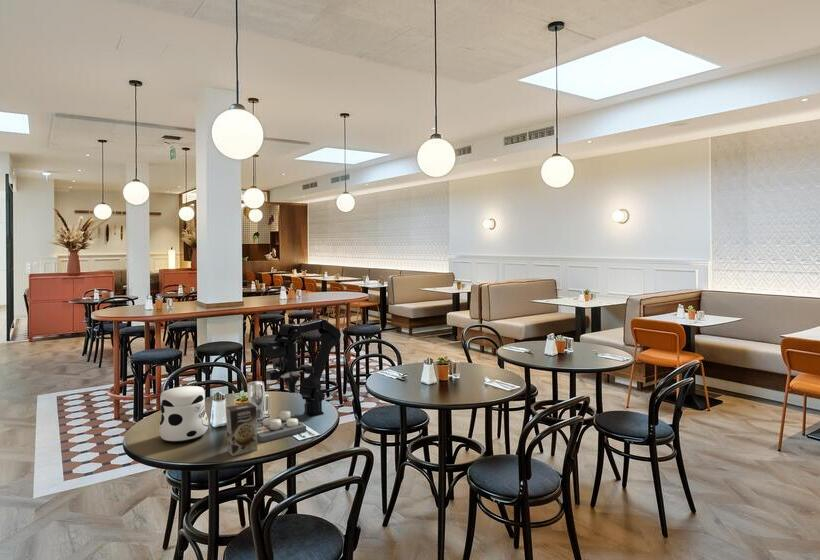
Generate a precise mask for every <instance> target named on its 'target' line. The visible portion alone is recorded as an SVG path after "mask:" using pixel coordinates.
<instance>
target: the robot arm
mask: <svg viewBox="0 0 820 560" xmlns="http://www.w3.org/2000/svg"><path fill="white" fill-rule="evenodd" d="M312 331H317V333H318V334H320V336H319V341H320V346H319V350H318V352H317V354H316V357H315V359H314V362H313V365H311V364H309V363H306V364H300V365H299V366H298V361H299V357H297V354H298V353H297V344H300V343H301V340H300V339H299V337H301V335H303V334H305V333H308V332H309V333H310V332H312ZM341 335H342V334H341V331H340V328H337V327H336V326H335V325H333V324H331V323H330V322H329V321H328V320H327V319H325V318H316V319H313V320H307V321H305V322H301V323H283V324H281V325H280V327H279V330H278V332H277V333H276V335H275V338H274V339H273V341H269V342H267V346H266V347H265V349H264V355H265V358H266V359H268V360H269V361H271V360H272V367H273V369H271V370H266V372H265V378H266V379H267V380H270V381H276V380H279V379H282V380H283V381H284V383H285V385H286V387H287V391H288V393H293V391H294V389H295V387H296V384H297V382H298V381H299V379H300V378H301V377H302V375H301V374H300V373H305V374H307V375H308V376H307V377H303V378H302V379H301V383H300V384H299V387H300V388H299V393H300V396H301V398H302V400H305V401H304V402H305V403H304V405H303V406H304V411H303V413H304V414H305V415H306V416H309V417H310V418H311V417H312V418H313V417H315V416H318V415H319V416H320V415H323V414H324V412H323V408H322V407H323V406H322V405H323V403H322V402H323V401H324V400H325V396H326V394H325V393H324V392H323V391H322V382H321V381H322V380H321V378H322V375H323V372H324V370H325V367H326V365H327V362H328V360H329V356H330V354H331V351H332V349H333V348H334V347H335V346H337V344H338V342H339V341H340V338H341ZM279 358H280V360H279Z"/></svg>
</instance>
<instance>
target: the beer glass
mask: <svg viewBox="0 0 820 560" xmlns="http://www.w3.org/2000/svg"><path fill="white" fill-rule="evenodd" d="M265 389H266V388H265V382H264V381H262V380H253V381H250V382H247V399H248V403H251V404H253V405H255V406H256V419H257V421H259V420H263V419H265V412H264V406H265V405H264V403H265V395H266V394H265V393H266V391H265Z"/></svg>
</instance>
